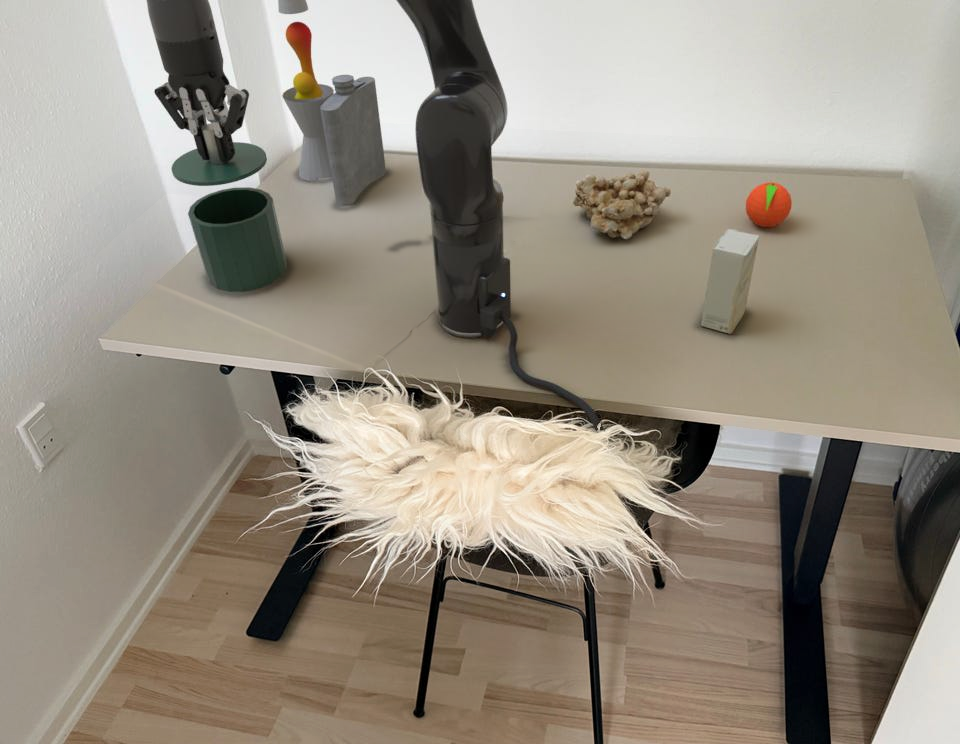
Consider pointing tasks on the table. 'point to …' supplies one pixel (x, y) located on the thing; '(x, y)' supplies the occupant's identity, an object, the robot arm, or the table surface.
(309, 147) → the lava lamp
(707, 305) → the cosmetic box
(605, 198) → the mineral formation
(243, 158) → the teal disc with peg
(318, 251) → the table surface
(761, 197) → the clementine
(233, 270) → the open teal cylindrical container
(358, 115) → the hip flask
